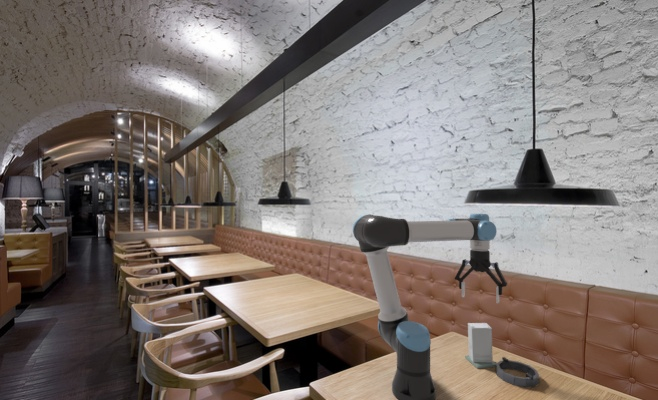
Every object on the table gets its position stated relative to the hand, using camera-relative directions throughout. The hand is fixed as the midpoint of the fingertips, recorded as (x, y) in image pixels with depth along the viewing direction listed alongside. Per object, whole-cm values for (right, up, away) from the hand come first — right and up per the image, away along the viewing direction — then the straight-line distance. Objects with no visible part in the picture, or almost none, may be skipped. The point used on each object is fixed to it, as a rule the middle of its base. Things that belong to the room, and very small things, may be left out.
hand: (480, 299), depth 136 cm
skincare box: (0, -26, 0) cm, 26 cm away
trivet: (0, -27, 0) cm, 27 cm away
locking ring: (+9, -27, -12) cm, 30 cm away
